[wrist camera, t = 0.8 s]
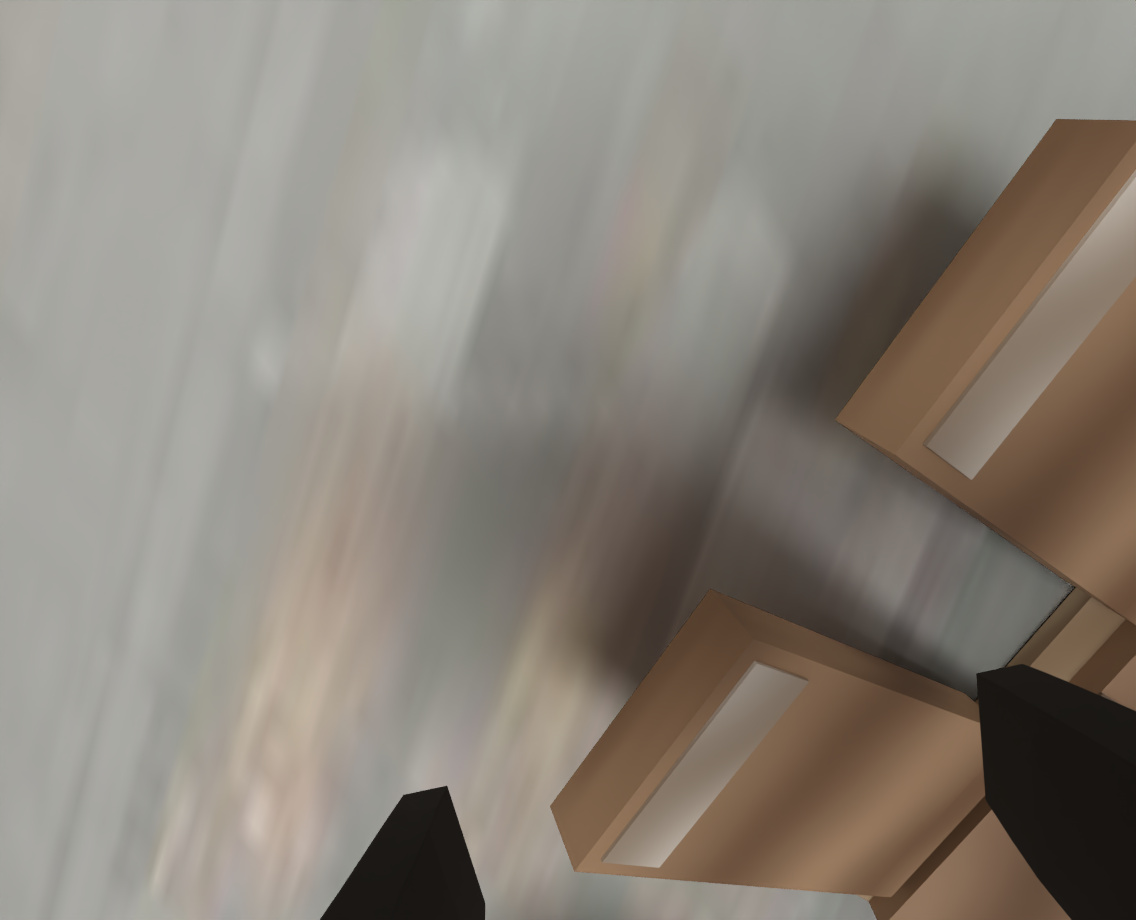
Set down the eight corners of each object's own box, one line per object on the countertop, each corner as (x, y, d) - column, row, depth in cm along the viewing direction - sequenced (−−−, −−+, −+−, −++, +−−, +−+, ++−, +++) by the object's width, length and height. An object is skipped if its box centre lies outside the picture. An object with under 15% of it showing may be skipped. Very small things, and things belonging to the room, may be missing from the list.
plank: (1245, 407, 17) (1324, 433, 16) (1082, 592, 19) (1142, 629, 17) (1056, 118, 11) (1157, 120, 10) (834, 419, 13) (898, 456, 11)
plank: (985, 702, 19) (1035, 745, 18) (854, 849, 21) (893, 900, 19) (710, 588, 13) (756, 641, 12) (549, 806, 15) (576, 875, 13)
